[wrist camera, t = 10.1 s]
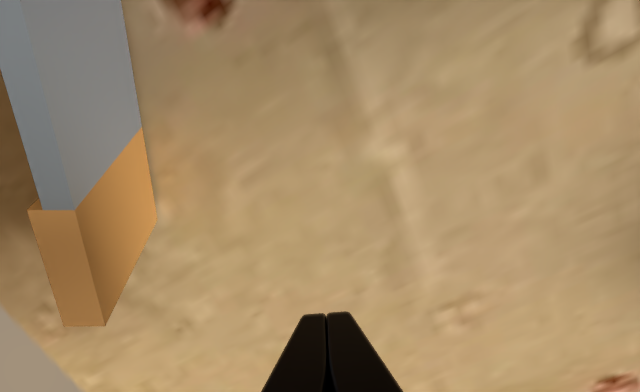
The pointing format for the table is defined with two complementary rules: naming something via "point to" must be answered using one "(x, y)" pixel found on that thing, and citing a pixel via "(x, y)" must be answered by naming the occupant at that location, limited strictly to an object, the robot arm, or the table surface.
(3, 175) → the table surface
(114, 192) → the side door
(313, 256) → the table surface
